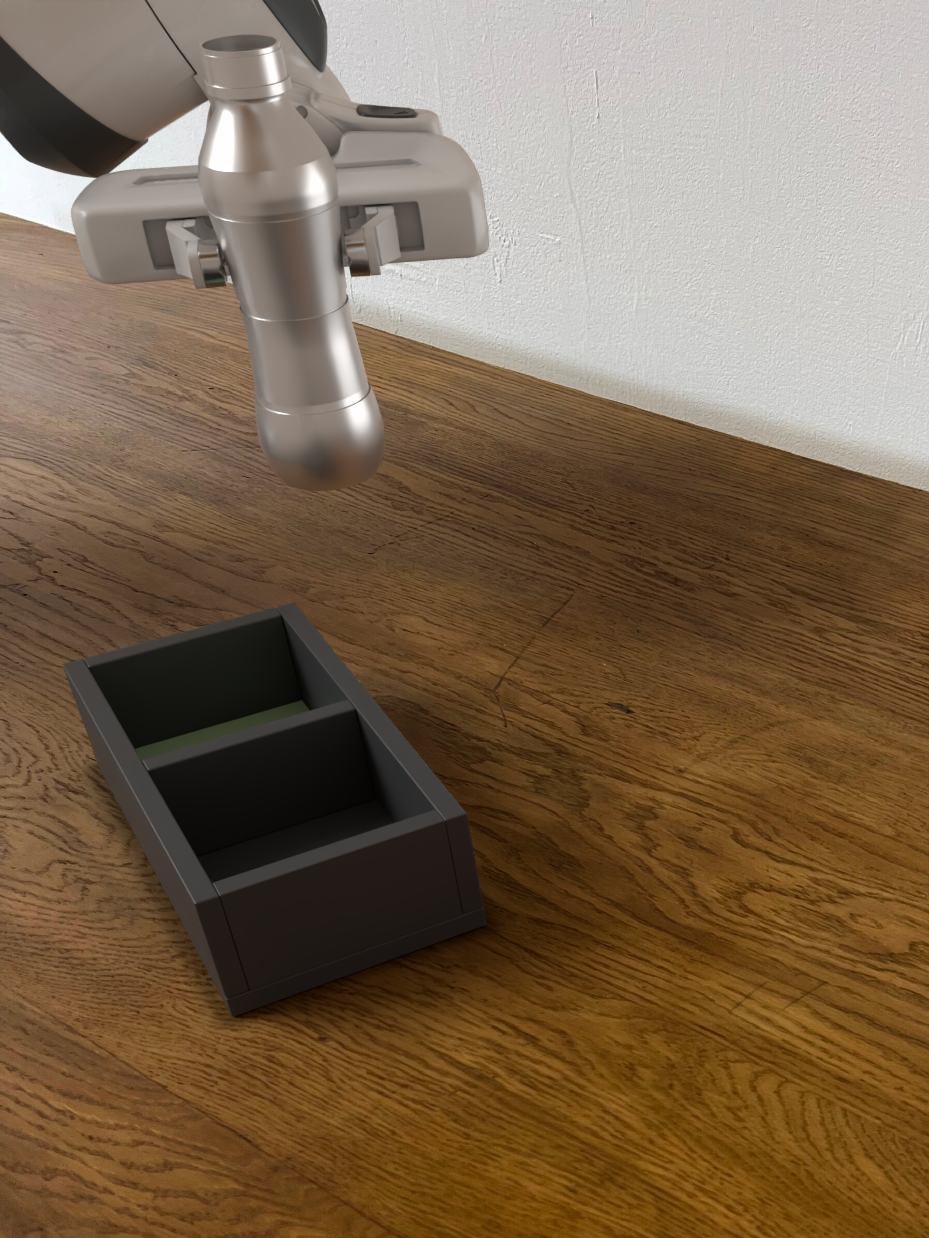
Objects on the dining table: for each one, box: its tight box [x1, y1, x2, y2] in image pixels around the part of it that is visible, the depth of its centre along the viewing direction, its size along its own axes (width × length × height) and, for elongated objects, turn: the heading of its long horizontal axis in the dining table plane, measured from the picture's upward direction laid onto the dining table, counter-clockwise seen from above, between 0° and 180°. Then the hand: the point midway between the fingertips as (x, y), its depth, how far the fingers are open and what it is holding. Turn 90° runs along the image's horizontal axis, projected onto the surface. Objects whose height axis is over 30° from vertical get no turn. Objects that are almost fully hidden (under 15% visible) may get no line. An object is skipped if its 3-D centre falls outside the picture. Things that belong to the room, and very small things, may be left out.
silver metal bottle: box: [197, 34, 386, 492], centre depth 77 cm, size 6×7×20 cm
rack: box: [62, 602, 487, 1018], centre depth 73 cm, size 12×22×6 cm, turn 31°
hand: (286, 265), depth 76 cm, fingers closed on silver metal bottle, 6 cm apart
